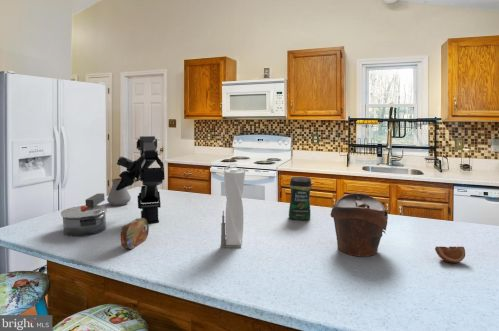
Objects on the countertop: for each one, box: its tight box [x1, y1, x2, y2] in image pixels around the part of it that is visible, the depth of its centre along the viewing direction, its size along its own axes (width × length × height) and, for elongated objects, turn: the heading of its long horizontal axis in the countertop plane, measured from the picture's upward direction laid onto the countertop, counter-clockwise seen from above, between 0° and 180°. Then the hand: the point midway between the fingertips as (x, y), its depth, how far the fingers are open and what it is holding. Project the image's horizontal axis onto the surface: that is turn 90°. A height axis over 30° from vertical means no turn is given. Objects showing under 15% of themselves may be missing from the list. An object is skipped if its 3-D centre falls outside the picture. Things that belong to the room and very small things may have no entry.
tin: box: [120, 217, 150, 250], centre depth 120 cm, size 15×3×8 cm, turn 168°
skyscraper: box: [220, 163, 246, 249], centre depth 120 cm, size 8×8×28 cm
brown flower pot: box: [330, 192, 389, 257], centre depth 115 cm, size 18×20×18 cm
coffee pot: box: [106, 177, 140, 207], centre depth 176 cm, size 21×12×15 cm, turn 83°
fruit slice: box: [434, 246, 466, 264], centre depth 107 cm, size 8×7×5 cm
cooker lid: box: [60, 192, 107, 219], centre depth 139 cm, size 25×16×4 cm, turn 2°
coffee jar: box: [288, 176, 312, 221], centre depth 152 cm, size 10×8×19 cm
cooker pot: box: [62, 212, 107, 238], centre depth 137 cm, size 26×15×7 cm, turn 32°
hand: (117, 189), depth 147 cm, fingers open, 3 cm apart
